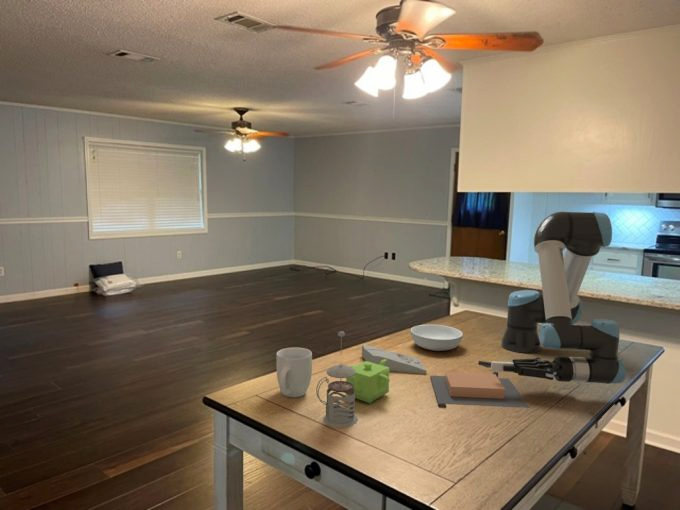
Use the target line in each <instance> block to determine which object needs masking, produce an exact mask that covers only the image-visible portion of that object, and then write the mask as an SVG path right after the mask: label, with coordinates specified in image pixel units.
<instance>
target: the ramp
mask: <svg viewBox="0 0 680 510" xmlns="http://www.w3.org/2000/svg"><path fill="white" fill-rule="evenodd" d="M361 358H362V359H363V358H364V359H365V360H366V361H368V362H371V363H375V364H380V362H381V361H382V360H384V359H386V362H385V364H384V366H386V367H389V372H398V373H410V374H419V375H427V369H426V367H425V366H424V365H423V363H422V361H421V360H420V358H418V357H415V356H411V355H408V354H405V353H399V352H395V351H391V350H390V351H389V350H384V349H381V348H378V347H375V346H372V345H368V344H362V345H361ZM365 360H364V361H365Z"/></svg>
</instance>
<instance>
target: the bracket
mask: <svg viewBox="0 0 680 510" xmlns="http://www.w3.org/2000/svg"><path fill="white" fill-rule="evenodd" d="M477 364H478V365H480V366H482V367H485V368H490V369H491V362H489V361H483V360H478V363H477ZM492 374H495V375H496V376H497V377H498V375H499V372H497V371H493V373H492Z"/></svg>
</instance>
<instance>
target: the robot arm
mask: <svg viewBox="0 0 680 510" xmlns="http://www.w3.org/2000/svg"><path fill="white" fill-rule="evenodd" d="M612 237H613V227H612V223H611V219H610V217H609V215H608V214H606V213H604V212H597V211H592V212H585V211H584V212H580V211H579V212H578V211H558V212H554V213H551V214H550V215H548V216H547V217H546V218H544V219H543V220H542V221H541V223H540V224H538V227H537V228H536V231H535V233H534V237H533V244H534V245H533V246H534V247H533V248H534V252H536V254H537V255H538V263H539V264H538V265H539V271H540V280H541V282H540V283H541V291H542V294H541V293H540V292H539V291H537V290H534V289H532V290H531V289H523V290H515V291H513V292H511V293H510V294H509V296H508V301H507V315H506V316H507V317H506V318H507V319H506V328H505V330H504V333H503V335H502V338H501V347H502V348H503V349H506V350H508V351H512V352H517V353H522V354H523V353H524V354H525V353H526V354H529V353H531V354H532V353H533V354H534V353H537V352H540V351H541V350H542V349H541V347H543V348H547V349H555V350H577V351H589V354H588V355H589V357H583V356H570V357H569V356H556V357H554V359H553V361H550V360H546V359H545V360H541V359H542V358H541V357H535V358H534V357H533V358H520V359H519V358H516V359H515V358H514V359H512V361H496V360H495V361H491V368H490V370H491V372H498V373H501V372H503V373H515V374H517V376H519V377H520V376H521V377H530V378H538V379H539V378H540V379H546V380H550V381H553V380H554V379H555V380H556V382H557V381H558V382H561V383H562V382H563V383H567V382H568V383H569V382H571V383H577V384H580V383H590V384H591V383H593V384H595V383H596V384H606V385H609V384H614V385H615V384H622V383H623V382H624V381H625V380H626V377H627V370H626V369H627V368H626V365H625V362H624V361H623V360H622V359H620V358H618V352H619V351H618V350H619V343H620V325H619V323H618V322H617V321H615V320H613V319H607V318H593V319H592V320H591V324H590V325H584V324H583V325H582V324H577V323H578V321H579V320H580V318H581V316H582V311H583V304H582V301H581V299H580V297H579V295H578V294H579V291H580V290H581V289H580V288H581V286H582V284H583V282H584V278H585V275H586V274H587V273H586V272H587V270H588V267H589V265H590V262H591V260H592V258H593V257H594V256H596V255H597V254H599V253H600V250H601V248H607V247H609V246H610V245H611V243H612V239H613V238H612ZM565 249H566V250H565ZM564 250H565V253H564V252H563V251H564ZM538 324H540V326H539V333H538Z"/></svg>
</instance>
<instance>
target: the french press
mask: <svg viewBox="0 0 680 510" xmlns="http://www.w3.org/2000/svg"><path fill="white" fill-rule="evenodd" d="M337 336H338V337H340V353H342V352H343V351H342V348H343V347H342V346H343V344H342V341H343V339H342V338H343V337H345V336H346V333H345V331H341V330H340V331H339V332H338V333H337ZM325 371H326V375H327V376H329V377H330V378H335V379H340V380H336V381H335V380H334V381H331V382H330V381H329V379H328V377H327V376H324V377H323V378H321V379H320V380H318V383H317V385H316V388H315V389H316V396H317V399H318V400H319V402H321V403H322V404H323V405H325V415H324V416H323V418H322V422H323V423H324V424H325V425H327V426H330V427H332V428H336V429H337V428H338V429H340V428H341V429H343V428H344V429H345V428H349V427H353V426H355V425H356V424H357V423H358V422H357V421H359V419H358V416H357V415H356V414H355V405H356V402H355V400H356V399H355V390H354V389H353V388H354V385H353V384H352V383H350V382H347V381H346V380H342V379H346V378H348V377H352V376H354V375H355V373H356V371H355V370H354V369H353V368H352V367H349V365H346V364H337V365H333V366H331V367H329V368H328V369H326V370H325ZM324 382H326V383H327V387H328V388H327V389H326V401H325V400H322V399H321V398H320V396H319V395H320V394H319V393H320V388H321V387H322V385H323V383H324ZM346 394H350V396H348V395H346ZM337 395H338V396H337ZM343 406H344V407H343ZM354 424H355V425H354Z"/></svg>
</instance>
